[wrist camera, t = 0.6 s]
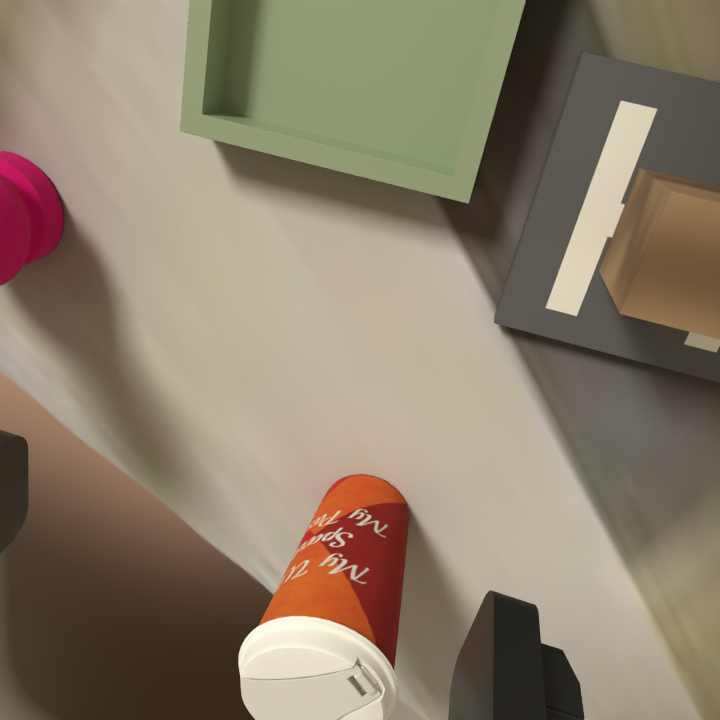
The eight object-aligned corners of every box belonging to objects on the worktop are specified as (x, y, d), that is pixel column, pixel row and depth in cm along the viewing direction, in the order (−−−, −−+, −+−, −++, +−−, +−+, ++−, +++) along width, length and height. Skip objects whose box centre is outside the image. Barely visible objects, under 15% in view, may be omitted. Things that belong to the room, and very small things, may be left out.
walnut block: (639, 167, 29) (671, 191, 24) (751, 194, 29) (809, 224, 23) (598, 270, 31) (619, 313, 26) (702, 297, 31) (744, 346, 26)
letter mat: (580, 52, 29) (583, 52, 28) (881, 120, 27) (894, 122, 27) (494, 316, 34) (494, 323, 33) (740, 381, 33) (747, 390, 32)
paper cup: (382, 440, 39) (327, 618, 26) (448, 532, 41) (427, 739, 28) (283, 489, 42) (193, 669, 29) (350, 572, 44) (291, 775, 31)
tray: (237, -221, 27) (208, -253, 24) (568, -155, 26) (576, -181, 23) (205, 126, 33) (180, 131, 30) (470, 191, 32) (468, 203, 29)
